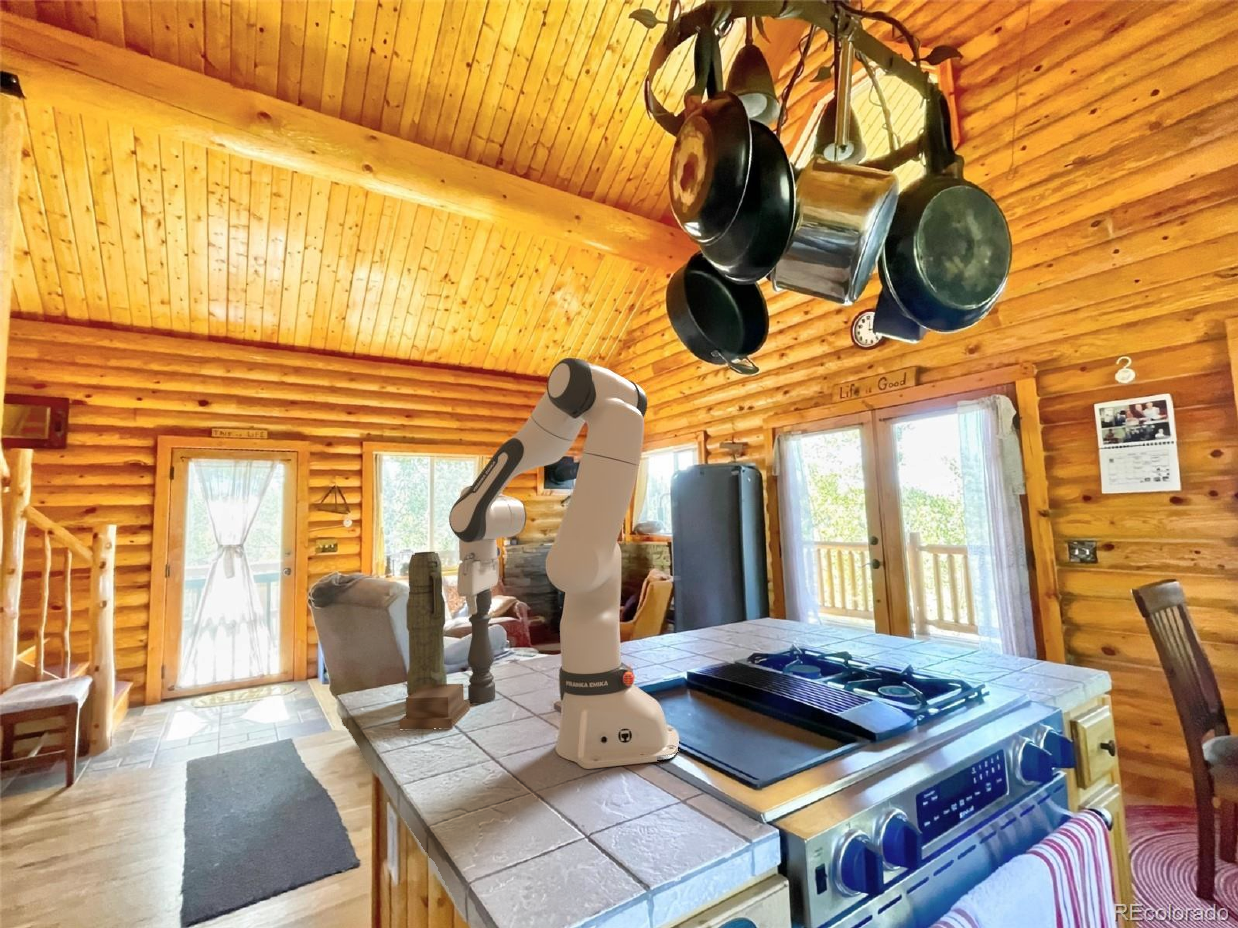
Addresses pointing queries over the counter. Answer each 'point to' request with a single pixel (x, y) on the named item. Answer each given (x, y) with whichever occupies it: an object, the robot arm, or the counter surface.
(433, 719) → the walnut stand
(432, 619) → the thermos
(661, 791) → the counter surface
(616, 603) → the robot arm
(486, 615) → the candle holder
